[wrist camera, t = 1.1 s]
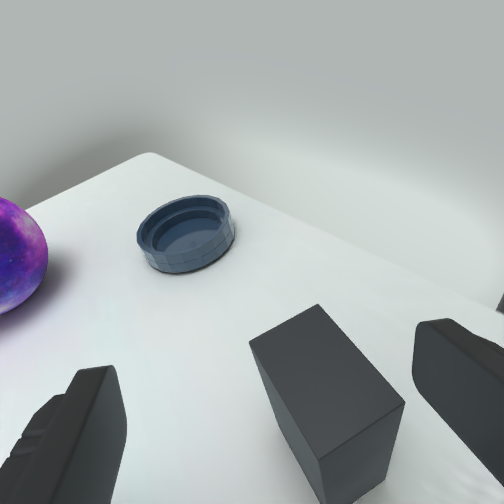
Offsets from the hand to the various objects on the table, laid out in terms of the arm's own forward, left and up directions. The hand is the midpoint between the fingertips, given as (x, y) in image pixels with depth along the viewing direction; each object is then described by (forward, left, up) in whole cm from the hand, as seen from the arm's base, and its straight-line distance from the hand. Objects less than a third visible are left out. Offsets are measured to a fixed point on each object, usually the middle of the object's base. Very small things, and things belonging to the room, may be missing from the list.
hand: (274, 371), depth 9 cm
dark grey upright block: (-2, -3, -19) cm, 20 cm away
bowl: (+4, -32, -19) cm, 38 cm away
